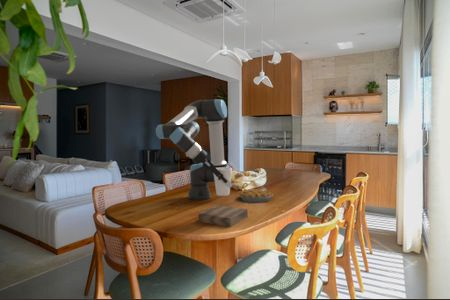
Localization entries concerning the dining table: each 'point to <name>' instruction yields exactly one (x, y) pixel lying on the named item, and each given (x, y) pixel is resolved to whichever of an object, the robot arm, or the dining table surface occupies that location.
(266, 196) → the pie
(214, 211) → the walnut riser
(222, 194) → the foam cup
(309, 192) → the dining table surface
